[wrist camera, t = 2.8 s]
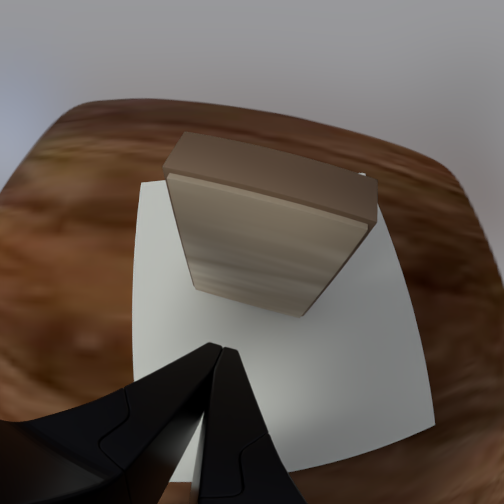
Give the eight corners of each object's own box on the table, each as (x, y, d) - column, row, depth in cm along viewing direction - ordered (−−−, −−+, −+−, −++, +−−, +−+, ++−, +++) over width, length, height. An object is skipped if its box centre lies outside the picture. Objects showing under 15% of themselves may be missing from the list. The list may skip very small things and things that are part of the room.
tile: (302, 320, 15) (377, 228, 7) (192, 289, 16) (158, 171, 8) (308, 289, 16) (377, 180, 8) (203, 260, 16) (184, 131, 8)
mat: (429, 424, 13) (435, 424, 12) (149, 478, 11) (146, 480, 11) (362, 178, 21) (364, 173, 21) (143, 188, 19) (141, 182, 19)
